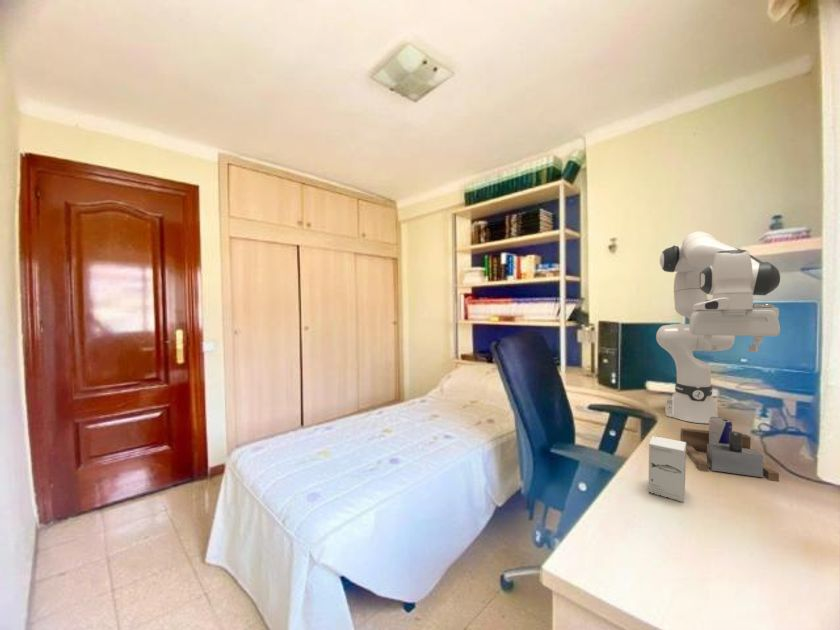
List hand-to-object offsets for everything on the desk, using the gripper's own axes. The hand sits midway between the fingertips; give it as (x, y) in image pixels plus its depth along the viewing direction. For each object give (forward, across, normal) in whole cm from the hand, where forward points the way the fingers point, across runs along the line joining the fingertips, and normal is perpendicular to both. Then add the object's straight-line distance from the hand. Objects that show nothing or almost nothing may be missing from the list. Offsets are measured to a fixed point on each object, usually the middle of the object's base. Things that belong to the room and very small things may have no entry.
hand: (732, 351), depth 103 cm
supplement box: (+34, +22, +24) cm, 48 cm away
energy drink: (+33, +2, -4) cm, 34 cm away
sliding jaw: (+33, +2, +5) cm, 34 cm away
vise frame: (+33, +2, -1) cm, 33 cm away
